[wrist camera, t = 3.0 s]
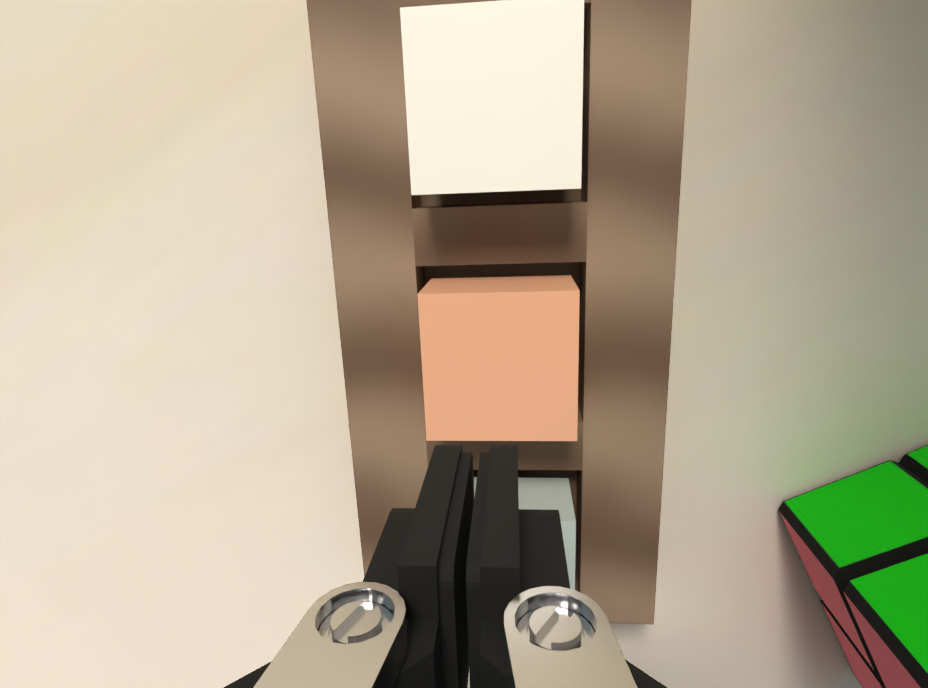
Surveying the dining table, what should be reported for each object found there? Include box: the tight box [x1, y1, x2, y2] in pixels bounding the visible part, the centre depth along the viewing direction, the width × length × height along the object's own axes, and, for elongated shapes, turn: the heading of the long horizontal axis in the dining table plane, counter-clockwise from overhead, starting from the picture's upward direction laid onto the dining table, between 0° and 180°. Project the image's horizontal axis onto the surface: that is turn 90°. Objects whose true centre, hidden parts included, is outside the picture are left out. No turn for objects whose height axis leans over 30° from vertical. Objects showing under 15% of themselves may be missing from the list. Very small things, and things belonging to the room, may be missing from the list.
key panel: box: [307, 0, 691, 624], centre depth 22 cm, size 24×12×2 cm, turn 2°
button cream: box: [400, 0, 584, 195], centre depth 18 cm, size 5×5×3 cm
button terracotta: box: [417, 275, 580, 441], centre depth 20 cm, size 5×5×3 cm
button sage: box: [474, 477, 576, 590], centre depth 22 cm, size 5×5×3 cm
